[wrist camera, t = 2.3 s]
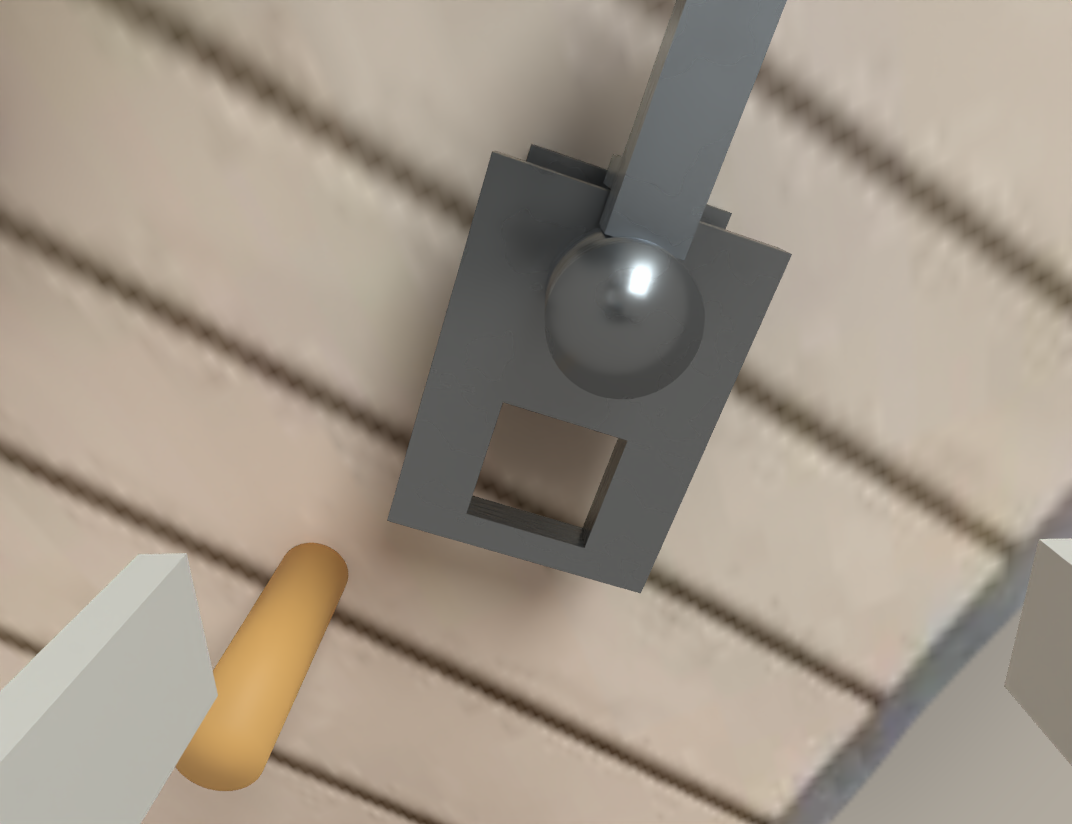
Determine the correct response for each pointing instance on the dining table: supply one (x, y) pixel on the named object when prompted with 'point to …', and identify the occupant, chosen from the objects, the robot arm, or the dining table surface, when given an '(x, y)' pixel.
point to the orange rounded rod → (265, 669)
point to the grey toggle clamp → (603, 312)
